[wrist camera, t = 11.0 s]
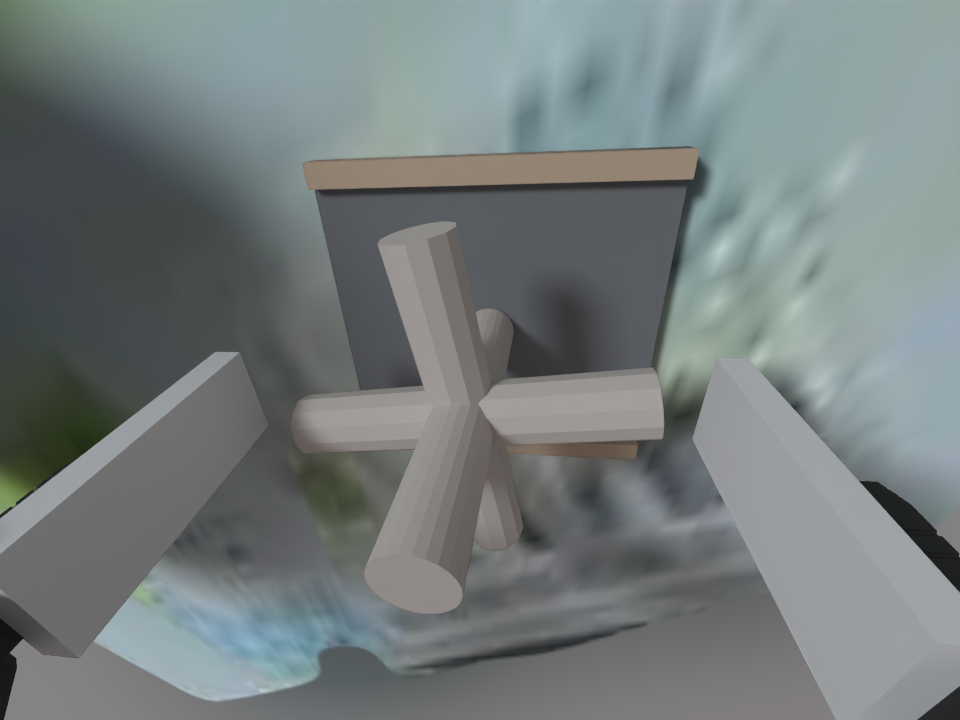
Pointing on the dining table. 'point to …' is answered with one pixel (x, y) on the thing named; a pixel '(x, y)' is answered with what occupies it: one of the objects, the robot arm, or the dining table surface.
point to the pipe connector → (461, 424)
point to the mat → (515, 255)
